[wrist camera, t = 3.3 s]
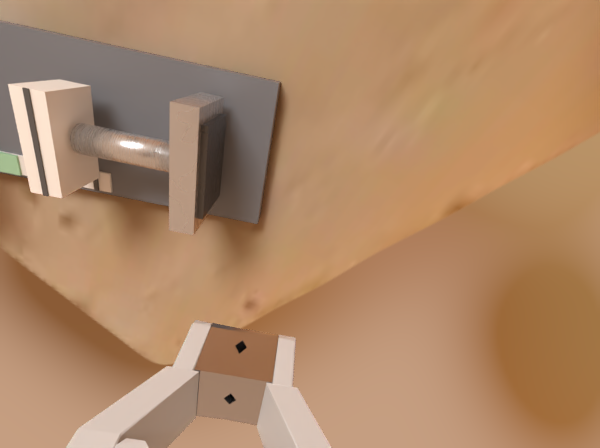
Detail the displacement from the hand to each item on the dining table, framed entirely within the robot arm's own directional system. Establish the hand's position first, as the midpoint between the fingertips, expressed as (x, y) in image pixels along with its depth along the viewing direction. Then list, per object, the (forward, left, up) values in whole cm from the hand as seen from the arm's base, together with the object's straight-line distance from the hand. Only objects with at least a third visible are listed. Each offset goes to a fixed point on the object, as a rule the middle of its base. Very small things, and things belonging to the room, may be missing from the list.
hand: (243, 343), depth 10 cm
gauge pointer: (+15, 0, -16) cm, 22 cm away
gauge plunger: (+9, 0, -16) cm, 18 cm away
